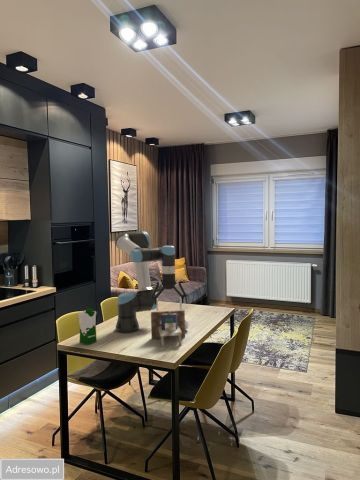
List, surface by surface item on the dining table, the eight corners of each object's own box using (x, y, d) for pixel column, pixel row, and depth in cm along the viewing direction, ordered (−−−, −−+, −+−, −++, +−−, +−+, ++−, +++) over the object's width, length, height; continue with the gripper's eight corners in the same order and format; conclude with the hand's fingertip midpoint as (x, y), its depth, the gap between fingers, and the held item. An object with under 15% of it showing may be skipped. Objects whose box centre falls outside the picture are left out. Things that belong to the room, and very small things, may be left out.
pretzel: (191, 328, 237) (190, 314, 236) (186, 334, 225) (186, 320, 225) (174, 327, 240) (174, 314, 239) (168, 333, 228) (168, 319, 228)
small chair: (153, 347, 203) (153, 319, 202) (151, 338, 219) (150, 311, 218) (189, 344, 206) (188, 316, 205) (184, 336, 222) (184, 310, 221)
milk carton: (86, 345, 208) (85, 311, 207) (77, 342, 214) (75, 308, 212) (99, 341, 215) (97, 307, 213) (89, 338, 220) (88, 305, 219)
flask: (177, 328, 213) (176, 310, 212) (177, 329, 210) (177, 311, 209) (161, 329, 212) (160, 310, 211) (161, 330, 209) (161, 312, 208)
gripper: (147, 274, 203) (147, 312, 205) (191, 273, 207) (191, 310, 209) (146, 272, 211) (146, 308, 212) (188, 271, 214) (189, 306, 216)
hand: (169, 309), depth 211 cm, fingers open, 13 cm apart
